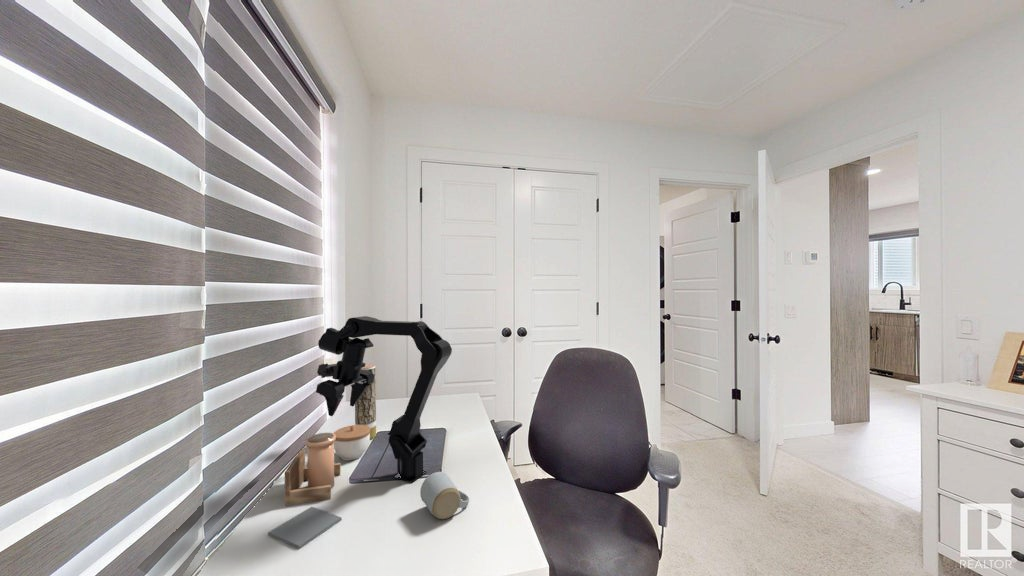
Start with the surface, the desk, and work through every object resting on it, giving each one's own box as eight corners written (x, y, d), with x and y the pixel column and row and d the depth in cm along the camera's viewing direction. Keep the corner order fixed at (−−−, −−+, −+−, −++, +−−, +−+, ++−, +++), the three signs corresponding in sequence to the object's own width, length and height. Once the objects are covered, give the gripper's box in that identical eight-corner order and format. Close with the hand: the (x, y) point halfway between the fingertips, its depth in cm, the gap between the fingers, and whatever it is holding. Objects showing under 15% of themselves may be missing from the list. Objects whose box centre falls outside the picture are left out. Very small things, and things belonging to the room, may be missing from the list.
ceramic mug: (432, 526, 80) (433, 491, 80) (419, 508, 86) (419, 475, 86) (475, 510, 86) (475, 477, 86) (460, 494, 92) (460, 464, 92)
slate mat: (341, 520, 82) (341, 517, 82) (299, 548, 73) (299, 545, 73) (311, 509, 86) (311, 506, 86) (268, 535, 77) (268, 532, 77)
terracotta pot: (342, 483, 98) (342, 434, 98) (318, 497, 91) (317, 445, 91) (324, 478, 101) (323, 430, 101) (299, 491, 94) (298, 440, 94)
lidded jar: (361, 464, 109) (361, 432, 109) (326, 464, 109) (325, 432, 109) (375, 448, 119) (375, 419, 119) (343, 448, 120) (343, 419, 120)
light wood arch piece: (340, 473, 103) (340, 445, 103) (330, 498, 91) (330, 466, 91) (301, 478, 101) (300, 449, 101) (285, 505, 88) (284, 472, 88)
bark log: (371, 441, 125) (370, 368, 125) (351, 441, 125) (351, 368, 125) (379, 433, 131) (378, 364, 131) (360, 433, 131) (359, 364, 131)
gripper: (349, 347, 117) (339, 394, 117) (305, 357, 99) (293, 412, 99) (380, 356, 114) (369, 404, 115) (340, 368, 96) (328, 425, 97)
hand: (341, 410), depth 106 cm, fingers open, 9 cm apart
